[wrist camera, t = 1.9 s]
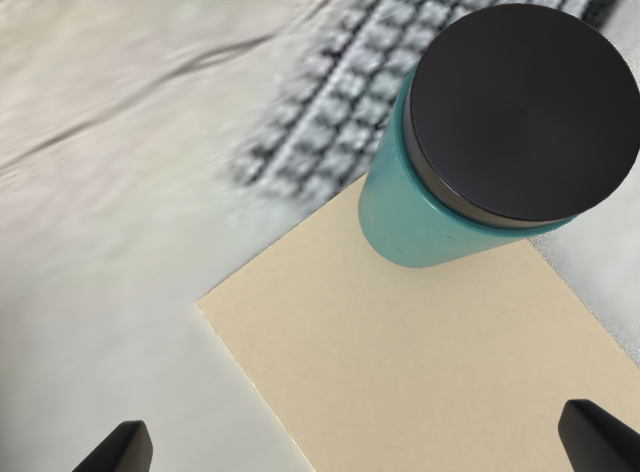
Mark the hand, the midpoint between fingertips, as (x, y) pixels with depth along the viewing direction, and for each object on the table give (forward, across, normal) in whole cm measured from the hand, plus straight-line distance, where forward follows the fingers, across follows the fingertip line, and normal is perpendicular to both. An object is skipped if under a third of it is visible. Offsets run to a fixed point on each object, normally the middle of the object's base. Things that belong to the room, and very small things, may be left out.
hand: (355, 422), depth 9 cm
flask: (+15, -5, +2) cm, 16 cm away
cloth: (+10, -5, +9) cm, 15 cm away
